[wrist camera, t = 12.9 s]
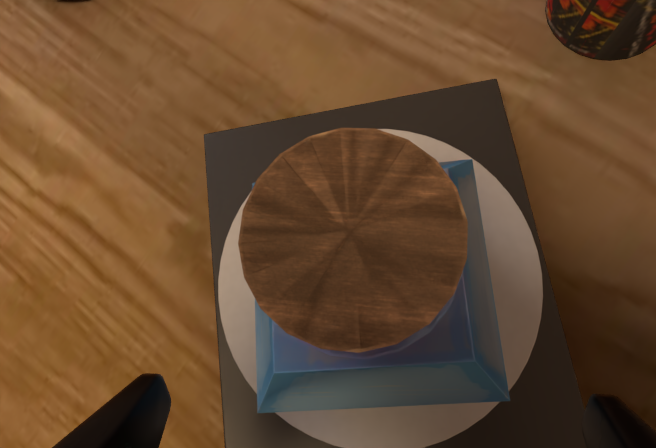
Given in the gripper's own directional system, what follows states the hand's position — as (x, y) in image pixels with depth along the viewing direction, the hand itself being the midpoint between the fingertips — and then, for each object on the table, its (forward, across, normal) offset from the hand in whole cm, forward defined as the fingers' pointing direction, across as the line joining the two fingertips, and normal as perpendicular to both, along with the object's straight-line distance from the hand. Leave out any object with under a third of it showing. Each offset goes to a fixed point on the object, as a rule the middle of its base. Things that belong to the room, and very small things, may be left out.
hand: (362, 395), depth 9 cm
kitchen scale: (+10, 0, +6) cm, 12 cm away
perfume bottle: (+8, 0, +4) cm, 8 cm away
